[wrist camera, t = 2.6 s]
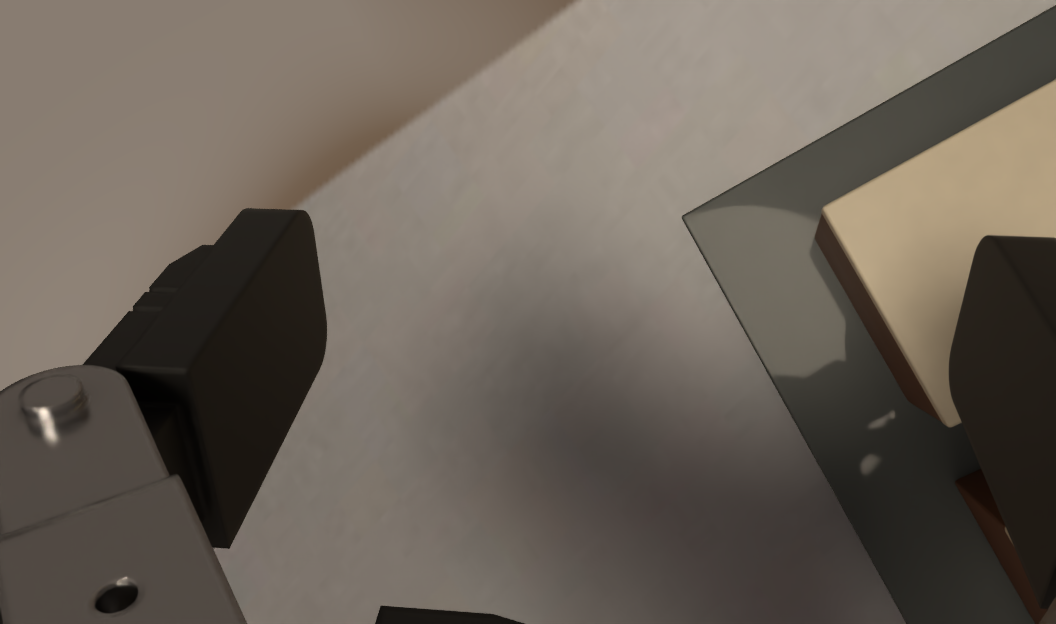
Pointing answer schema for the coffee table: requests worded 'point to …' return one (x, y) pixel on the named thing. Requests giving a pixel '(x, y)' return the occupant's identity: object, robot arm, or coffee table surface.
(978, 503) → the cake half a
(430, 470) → the coffee table surface
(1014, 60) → the cake board
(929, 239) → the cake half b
